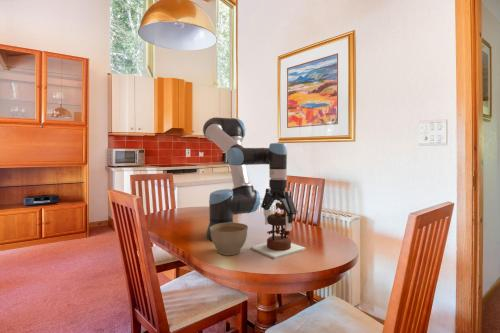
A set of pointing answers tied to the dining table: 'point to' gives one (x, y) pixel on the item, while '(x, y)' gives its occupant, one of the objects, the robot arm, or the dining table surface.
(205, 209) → the dining table surface
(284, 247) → the music box
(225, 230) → the planter bowl
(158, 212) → the dining table surface
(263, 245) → the board
